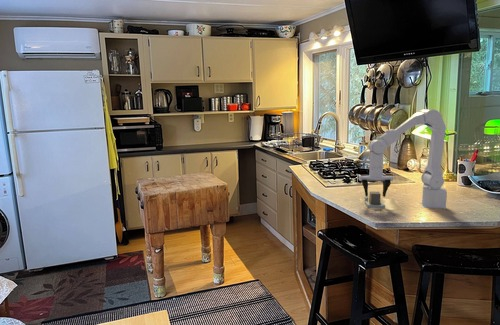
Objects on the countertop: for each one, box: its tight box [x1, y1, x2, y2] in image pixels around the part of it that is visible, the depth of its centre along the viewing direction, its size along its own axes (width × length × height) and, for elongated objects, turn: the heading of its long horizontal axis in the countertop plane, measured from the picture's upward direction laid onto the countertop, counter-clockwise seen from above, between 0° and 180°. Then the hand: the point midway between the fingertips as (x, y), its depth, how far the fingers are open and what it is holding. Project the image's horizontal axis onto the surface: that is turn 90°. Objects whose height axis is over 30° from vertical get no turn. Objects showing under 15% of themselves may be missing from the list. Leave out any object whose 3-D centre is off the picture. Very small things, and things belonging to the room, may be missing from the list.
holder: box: [365, 201, 385, 208], centre depth 168 cm, size 8×7×1 cm
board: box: [358, 197, 405, 211], centre depth 171 cm, size 16×18×1 cm
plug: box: [368, 191, 382, 205], centre depth 172 cm, size 4×12×6 cm, turn 173°
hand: (375, 196), depth 168 cm, fingers open, 7 cm apart
